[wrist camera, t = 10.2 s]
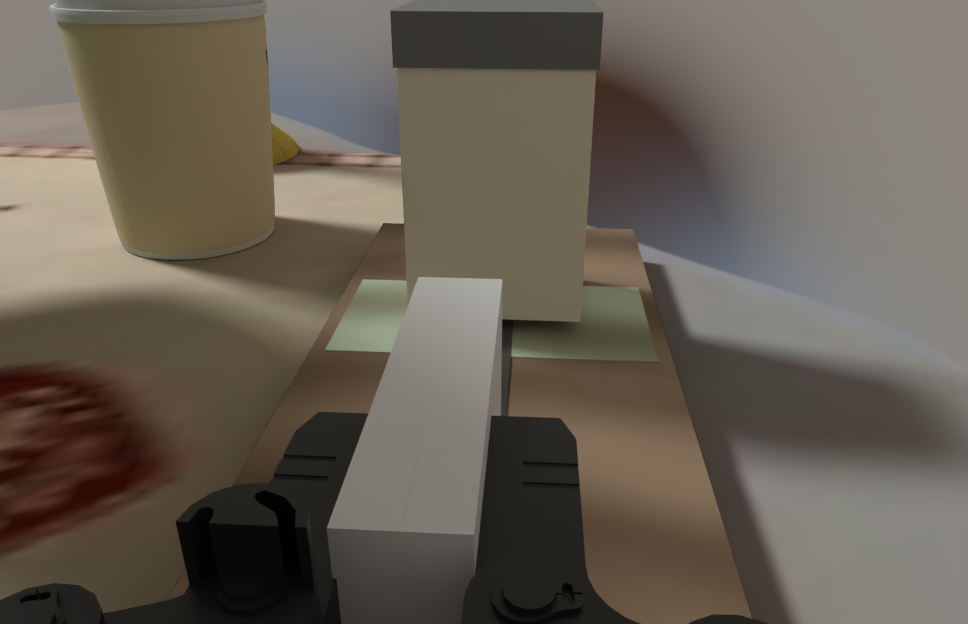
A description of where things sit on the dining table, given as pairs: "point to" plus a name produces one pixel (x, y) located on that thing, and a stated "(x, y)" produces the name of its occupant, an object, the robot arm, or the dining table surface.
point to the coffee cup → (176, 119)
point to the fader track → (582, 407)
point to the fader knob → (498, 145)
